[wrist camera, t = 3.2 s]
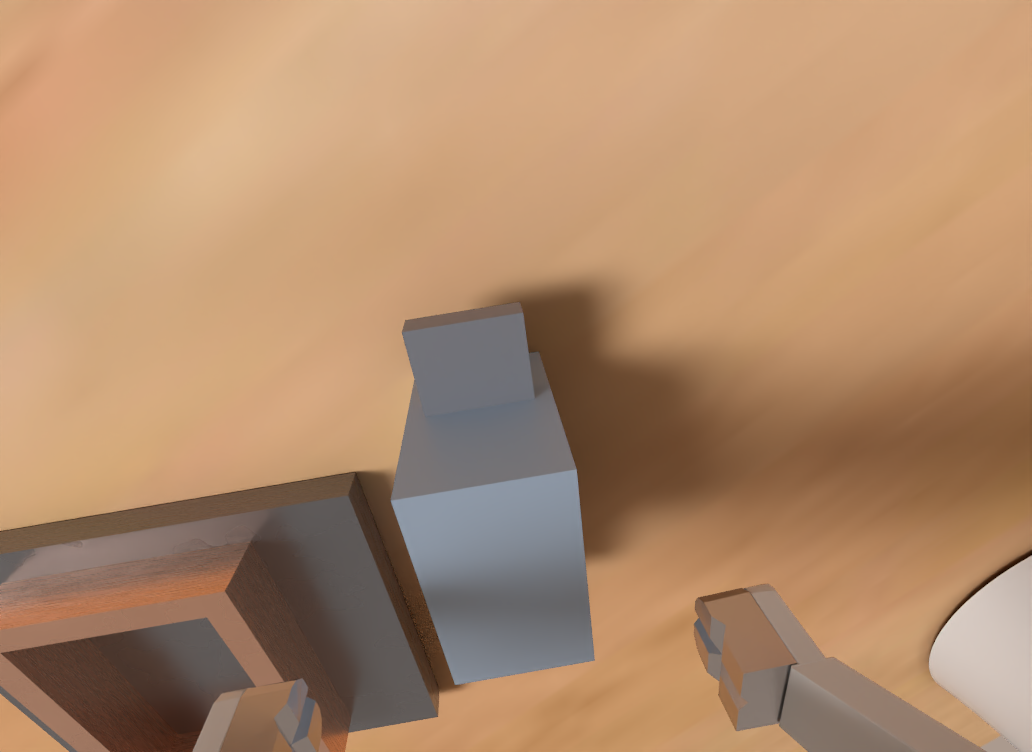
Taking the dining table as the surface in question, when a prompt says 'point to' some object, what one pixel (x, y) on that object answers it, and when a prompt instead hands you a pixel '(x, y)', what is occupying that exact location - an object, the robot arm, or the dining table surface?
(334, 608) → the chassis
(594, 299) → the dining table surface
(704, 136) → the dining table surface
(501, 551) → the block
